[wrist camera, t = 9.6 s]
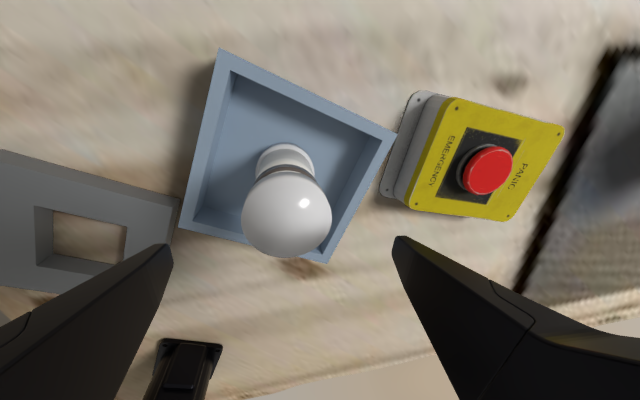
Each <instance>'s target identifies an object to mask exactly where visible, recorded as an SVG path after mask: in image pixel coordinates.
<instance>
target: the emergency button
mask: <svg viewBox="0 0 640 400" xmlns="http://www.w3.org/2000/svg"><path fill="white" fill-rule="evenodd" d="M564 135H565V128H564V127H562V126H560V125H556V124H553V123H549V122H545V121H542V120H538V119H534V118H530V117H527V116H523V115H519V114H516V113H512V112H508V111H505V110H501V109H497V108H494V107H490V106H486V105H483V104H479V103H475V102H472V101H468V100H464V99H461V98H457V97H449V96H445V95H441V94H438V93H434V92H430V91H418V92H416V93H414V94H413V95H412V96H411V98H410V99H409V101H408V104H407V107H406V110H405V113H404V116H403V119H402V122H401V125H400V128H399V131H398V135H397V137H396V139H395V142H394V145H393V148H392V151H391V154H390V157H389V160H388V163H387V166H386V169H385V171H384V174H383V177H382V180H381V183H380V186H379V191H380V193H381V194H382V195H383V196H385V197H387V198H394V199H399V200H400V201H401V202H403V203H404V204H405V205H406V206H408V207H410V208H411V209H413V210H419V211H426V212H434V213H441V214H449V215H456V216H463V217H471V218H478V219H486V220H493V221H500V222H504V221H508V220H509V219H511V218H512V217H513V216H514V215H515V213H516V212H517V210H518V208H519V207H520V205H521V204H522V202H523V201H524V199H525V197H526V196H527V194H528V193H529V191H530V190H531V188H532V186H533V185H534V183H535V182H536V180H537V179H538V177H539V175H540V174H541V172H542V171H543V169H544V168H545V166H546V164H547V163H548V161H549V160H550V158H551V157H552V155H553V153H554V152H555V150H556V149H557V147H558V146H559V144H560V142H561V141H562V139H563V137H564Z"/></svg>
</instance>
